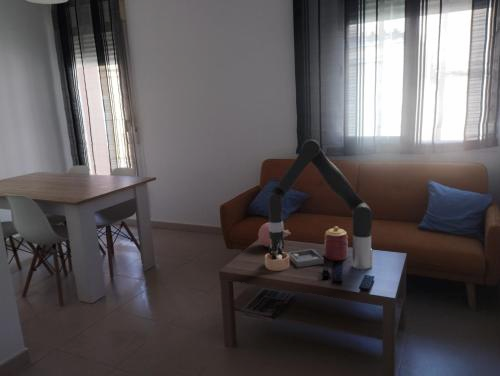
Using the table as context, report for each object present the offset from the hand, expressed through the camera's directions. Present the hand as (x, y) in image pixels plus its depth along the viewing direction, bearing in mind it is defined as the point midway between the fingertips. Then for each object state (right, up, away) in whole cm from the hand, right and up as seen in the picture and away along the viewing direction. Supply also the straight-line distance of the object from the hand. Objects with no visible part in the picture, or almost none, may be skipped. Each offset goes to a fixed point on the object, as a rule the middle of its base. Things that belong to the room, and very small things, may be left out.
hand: (277, 259), depth 220 cm
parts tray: (+16, -2, +7) cm, 18 cm away
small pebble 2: (+21, -1, +4) cm, 21 cm away
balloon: (+1, +2, +29) cm, 29 cm away
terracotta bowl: (0, -4, +1) cm, 4 cm away
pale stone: (0, -3, +1) cm, 3 cm away
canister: (+34, 0, +10) cm, 35 cm away
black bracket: (+23, -7, -15) cm, 28 cm away
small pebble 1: (+11, -1, +10) cm, 15 cm away
